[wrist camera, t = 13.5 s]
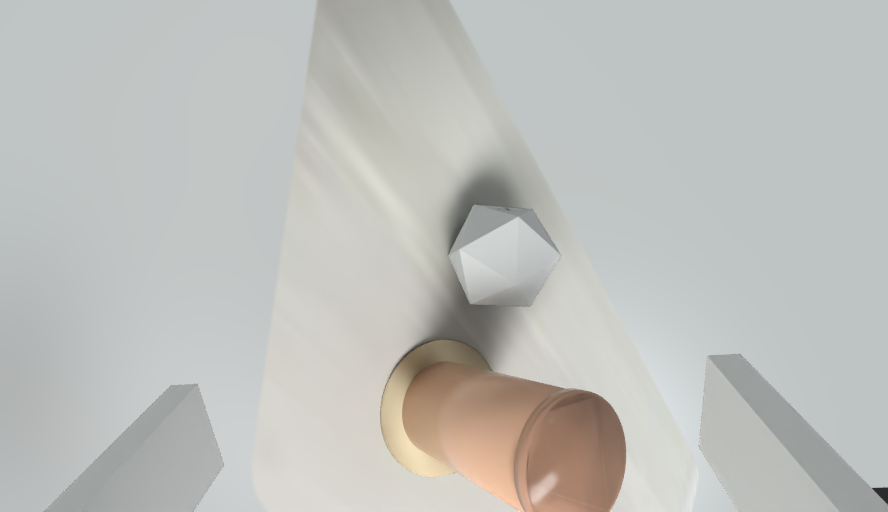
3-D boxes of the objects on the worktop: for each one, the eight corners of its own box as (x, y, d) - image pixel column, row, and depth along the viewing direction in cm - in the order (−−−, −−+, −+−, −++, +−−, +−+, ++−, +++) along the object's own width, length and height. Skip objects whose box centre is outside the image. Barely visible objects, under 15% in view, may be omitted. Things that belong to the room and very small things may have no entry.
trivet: (432, 313, 40) (434, 313, 39) (514, 386, 44) (517, 387, 43) (352, 430, 36) (354, 431, 35) (450, 500, 39) (453, 501, 39)
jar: (436, 340, 39) (568, 363, 26) (496, 392, 42) (643, 436, 29) (381, 424, 36) (499, 495, 24) (449, 474, 39) (589, 563, 26)
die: (524, 252, 46) (559, 180, 39) (539, 331, 41) (583, 266, 33) (441, 247, 45) (460, 172, 37) (446, 328, 40) (469, 259, 32)
